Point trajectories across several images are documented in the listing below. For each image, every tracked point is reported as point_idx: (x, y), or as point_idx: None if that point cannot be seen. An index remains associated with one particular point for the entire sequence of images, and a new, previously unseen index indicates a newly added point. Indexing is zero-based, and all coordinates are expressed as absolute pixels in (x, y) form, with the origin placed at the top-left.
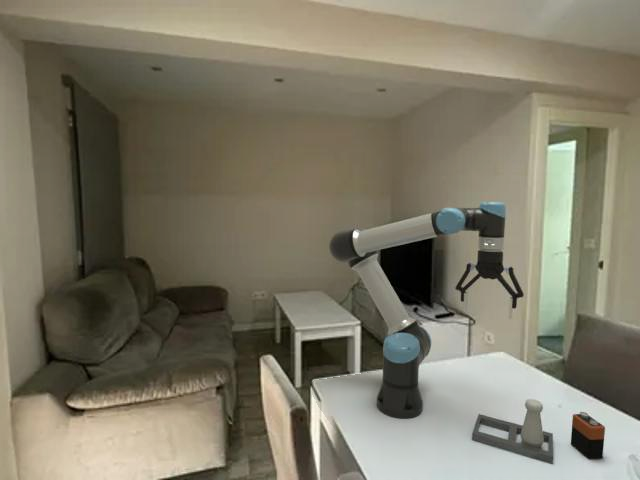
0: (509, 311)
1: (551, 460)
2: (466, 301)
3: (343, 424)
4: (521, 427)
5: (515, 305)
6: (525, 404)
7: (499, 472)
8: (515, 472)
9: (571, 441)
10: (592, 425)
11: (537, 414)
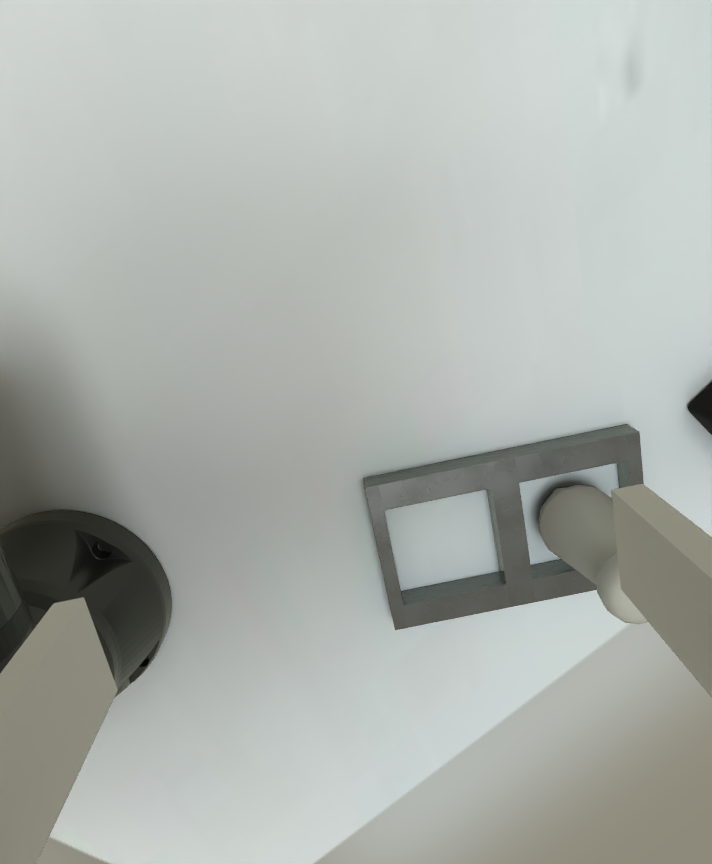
0: (673, 643)
1: None
2: (52, 792)
3: None
4: (531, 470)
5: None
6: (603, 602)
7: (511, 704)
8: (549, 675)
9: (696, 414)
10: None
11: None
